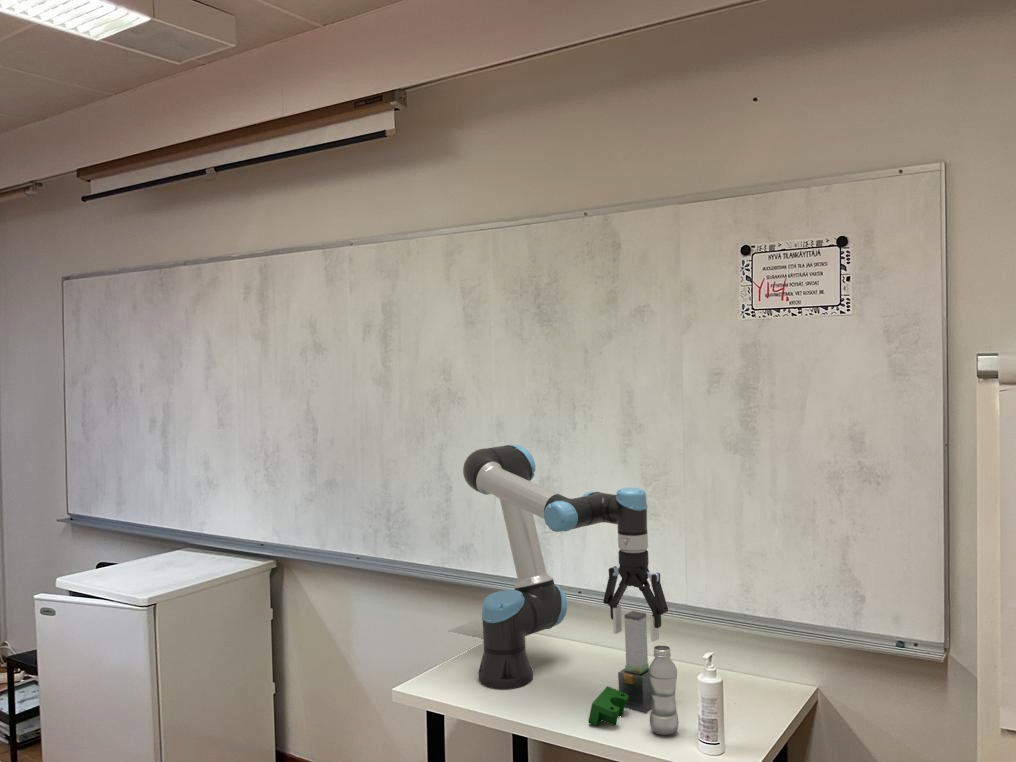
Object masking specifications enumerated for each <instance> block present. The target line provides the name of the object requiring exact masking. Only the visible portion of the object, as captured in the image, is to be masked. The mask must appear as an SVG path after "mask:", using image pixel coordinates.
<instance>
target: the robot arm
mask: <svg viewBox="0 0 1016 762" xmlns="http://www.w3.org/2000/svg"><path fill="white" fill-rule="evenodd" d="M535 472H536V463H535V460H534V456H533V455H532V454H531V452H530V451H529V450H528V449H527V448H525V447H524V446H523V445H522V446H521V445H518V444H515V445H514V444H508V445H507V444H506V445H502V446H495V447H487V448H485V447H483V448H479V449H476V450H475V451H473V452H471V453H470V454H469V455H468V456H467V457H466V459H465V461H464V463H463V468H462V473H463V477H464V480H465V482H466V484H467V485H468V486H469V487H470V488H471V489H473V490H474V491H475V492H477V493H481V494H482V495H485V496H486V495H488V496H489V495H493V496H494V497H496V498H497V499H498V500H499V501H500V506H501V511H502V515H503V520H504V524H505V528H506V532H507V539H508V541H509V547H510V551H511V555H512V561H513V564H514V568H515V572H516V578H517V582H516V583H515V585H514V587H513V588H514V589H506V590H499V591H496V592H493V593H490V594H489V595H487V596H486V597H485V598H484V600H483V602H482V612H481V618H482V620H481V621H482V634H483V636H482V639H483V641H482V642H483V654H482V657H481V661H480V665H479V668H478V673H477V675H478V678H477V679H478V682H479V684H481V685H482V686H483V687H487V688H491V689H495V690H511V689H517V688H522V687H524V686H526V685H528V684H529V683H531V682H532V681H533V678H534V675H533V674H534V672H533V668H532V666H531V663H530V660H529V657H528V654H527V650H526V636H530V635H533V634H537V633H539V632H542V631H545V630H550V629H552V628H553V627H555V626H557V625H559V624H561V623H562V622H563V621H564V619H565V617H566V616H567V612H568V611H567V610H568V601H567V596H566V593H565V591H564V590H563V589H562V587H561V586H560V585H558V584H555V581H554V578H553V577H552V576H551V575H549V574H548V573H547V569H546V565H545V561H544V557H543V553H542V548H541V543H540V539H539V534H538V531H537V527H536V522H535V517H534V515H535V516H537V517H539V518H542V519H543V520H544V523H545V525H546V526H547V527H548V529H550V530H551V531H552V532H556V533H559V532H560V533H561V532H569V531H571V530H575V529H579V528H583V527H588V526H593V525H596V524H601V523H607V524H613V525H617V540H618V541H617V543H618V546H617V547H618V549H619V550H618V564H619V567H618V566H617V565H616V566H613V567H609V568H608V579H607V582H606V583H607V584H606V588H605V593H604V598H603V600H602V602H603V604H605V605H607V606H609V607H610V619H611V620H613V621H612V622H613V627H612V628H613V634H615V635H617V634H619V633H621V632H622V631H623V630H622V629H623V628H622V627H623V626H622V606H621V605H620V602H621V599H622V598H623V596H624V594H625V592H626V590H627V589H628V587H634V588H638V589H639V591H640V592H641V593H642V595H643V597H644V599H645V601H646V602H647V606H649V608H650V611H651V612H652V614H650V642H653V643H654V642H656V641H658V640H659V639H660V631H659V629H660V628H661V627H662V615H663V614H666V613H667V612H669V608H668V607H669V606H668V604H667V600H666V598H665V593H664V591H663V587H662V584H661V573H660V572H650V570H649V551H648V550H647V549H648V548H649V537H648V535H649V533H648V504H647V495H646V494H647V493H646V491H645V490H644V489H643V488H639V487H623V488H622V487H621V488H619V489H617V491H616V494H614V493H613V494H612V493H605V492H600V491H588V492H585V493H584V494H583V495H582V496H579V497H575V498H574V497H573V498H568V497H567V496H564V495H561V494H559V493H557V492H555V491H552V490H551V489H549V488H546V487H544V486H542V485H539V484H538V483H535V482H533V481H532V480H533V478H534V477H535ZM618 576H620V577H621V580H620V582H619V584H618V587H617V589H616V586H617V581H618V578H619V577H618ZM648 579H649V581H648ZM650 584H651V585H650ZM651 588H652V589H651ZM615 589H616V590H615Z"/></svg>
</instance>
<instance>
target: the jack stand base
mask: <svg viewBox="0 0 1016 762" xmlns="http://www.w3.org/2000/svg"><path fill="white" fill-rule="evenodd" d="M617 676H618V677H617V678H618V680H617V681H618V691H621V692H623V693H625V694H627V695H628V700H627V703H626V704H625V708H624V709H627V708H629V710H631V709H632V711H635V712H638V711H639V713H642V712H643V714H648V711H649V712H651V706H652V692H651V682H650V676H649V669H648V671H647V672H646V673H644V674H642V675H641V676H639V675H634V674H630V673H626V669H625V668H623V669H621V670H620V671H618V673H617Z"/></svg>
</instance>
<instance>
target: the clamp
mask: <svg viewBox="0 0 1016 762" xmlns="http://www.w3.org/2000/svg"><path fill="white" fill-rule="evenodd" d="M627 700H628V695H627V694H625V693H623V692H621V691H619V689H618V690H617V689H615V688H613V687H610V686H606V687H605V688H604V689H603V690H602V691H601V693H599V695H598V696H597V697H596V698H595V699H594V701H593V702H591V707H590V712H589V716H588V724H590V725H593V726H595V727H598V726H597V725H600V723H601V722H605V723H607V724H610V725H612V726H614V725H617V723H618V719H619V717H620V716H621V718H623V716H624V712H625V709H626V708H625V704H626V703H627ZM601 720H602V721H601Z"/></svg>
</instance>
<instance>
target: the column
mask: <svg viewBox="0 0 1016 762" xmlns="http://www.w3.org/2000/svg"><path fill="white" fill-rule="evenodd" d="M647 626H648V625H647V613H646V612H640V611H635V610H632V611H629V612H628V613H625V614H624V635H625V636H624V639H625V640H624V641H625V665H624V666H625V668H624V669H626V673H630V674H634V675H639V676H641V675H642V674H644V673H646V672H647V671H648V669H649V667H650V663H648V661H649V660H648V659H649V657H648V655H649V653H648V630H647V628H648V627H647Z"/></svg>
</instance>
